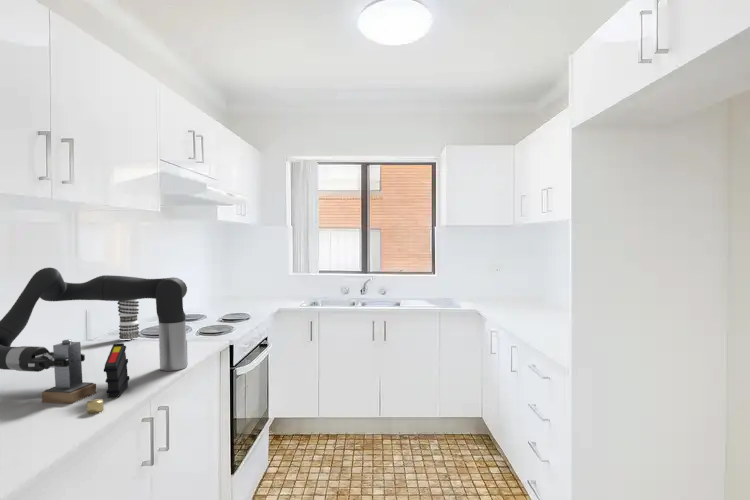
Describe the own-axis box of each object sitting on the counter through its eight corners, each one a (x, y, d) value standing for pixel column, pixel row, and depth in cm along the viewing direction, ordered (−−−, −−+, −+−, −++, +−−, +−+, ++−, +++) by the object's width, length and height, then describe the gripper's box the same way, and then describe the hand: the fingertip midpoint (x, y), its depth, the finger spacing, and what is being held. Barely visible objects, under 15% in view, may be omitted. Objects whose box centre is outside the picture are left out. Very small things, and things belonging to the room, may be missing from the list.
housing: (68, 383, 157) (65, 338, 157) (82, 383, 157) (80, 338, 156) (55, 388, 153) (52, 342, 152) (70, 388, 152) (67, 342, 151)
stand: (68, 391, 160) (67, 381, 160) (96, 393, 159) (95, 382, 158) (42, 402, 150) (41, 390, 150) (71, 403, 149) (71, 392, 149)
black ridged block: (131, 379, 167) (125, 342, 161) (122, 408, 156) (115, 370, 149) (119, 380, 167) (112, 343, 160) (109, 409, 155) (101, 370, 148)
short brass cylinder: (94, 409, 144) (94, 398, 144) (106, 409, 143) (106, 399, 143) (83, 414, 140) (83, 403, 140) (96, 414, 139) (96, 404, 139)
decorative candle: (115, 339, 242) (113, 287, 241) (134, 336, 249) (133, 285, 248) (123, 342, 236) (121, 288, 235) (143, 338, 243) (141, 286, 242)
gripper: (47, 364, 164) (93, 366, 161) (7, 377, 150) (57, 379, 147) (46, 341, 164) (92, 343, 161) (6, 352, 150) (56, 353, 147)
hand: (75, 360), depth 154 cm, fingers open, 6 cm apart
